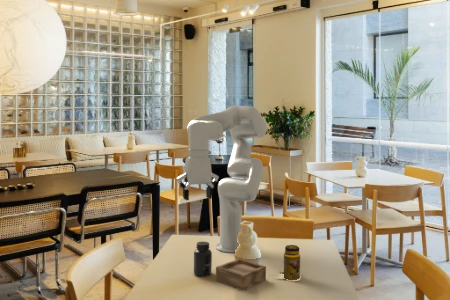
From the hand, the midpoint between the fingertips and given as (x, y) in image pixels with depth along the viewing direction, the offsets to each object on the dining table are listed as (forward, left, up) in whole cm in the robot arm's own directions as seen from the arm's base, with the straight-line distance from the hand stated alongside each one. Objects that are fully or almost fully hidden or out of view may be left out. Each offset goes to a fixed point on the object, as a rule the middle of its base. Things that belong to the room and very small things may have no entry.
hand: (197, 198), depth 188 cm
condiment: (-19, +30, -29) cm, 45 cm away
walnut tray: (-4, +19, -28) cm, 34 cm away
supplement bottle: (+1, +4, -29) cm, 29 cm away
